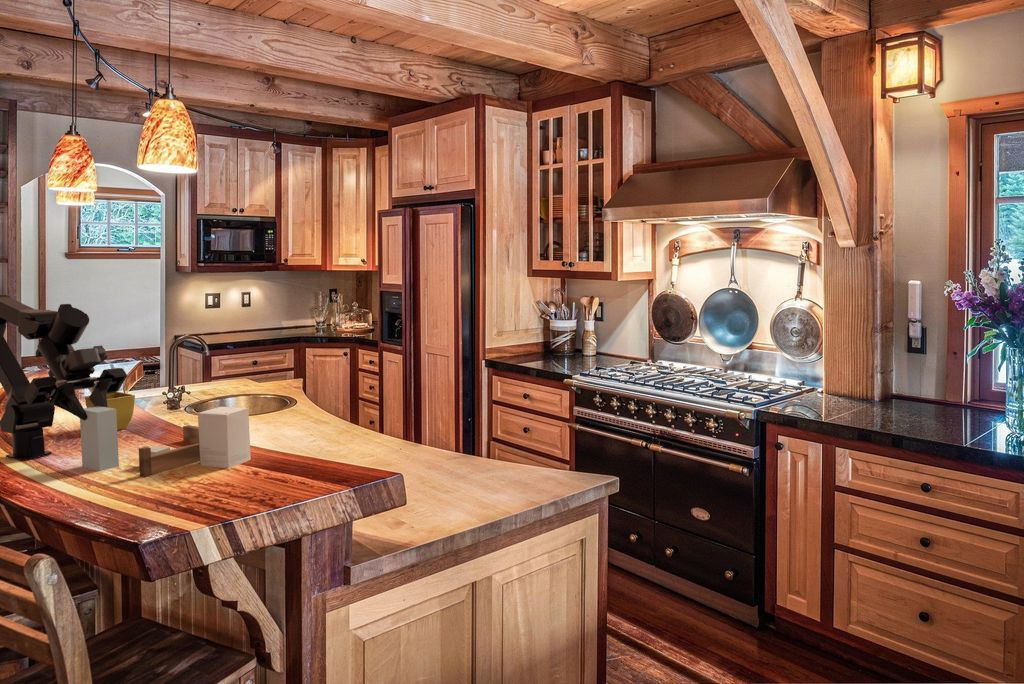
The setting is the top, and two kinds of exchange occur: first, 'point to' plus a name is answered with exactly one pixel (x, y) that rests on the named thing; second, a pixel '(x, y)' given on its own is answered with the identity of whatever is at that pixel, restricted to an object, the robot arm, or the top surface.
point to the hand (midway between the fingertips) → (96, 417)
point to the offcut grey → (158, 449)
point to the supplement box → (224, 437)
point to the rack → (171, 455)
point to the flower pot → (119, 407)
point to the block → (99, 438)
